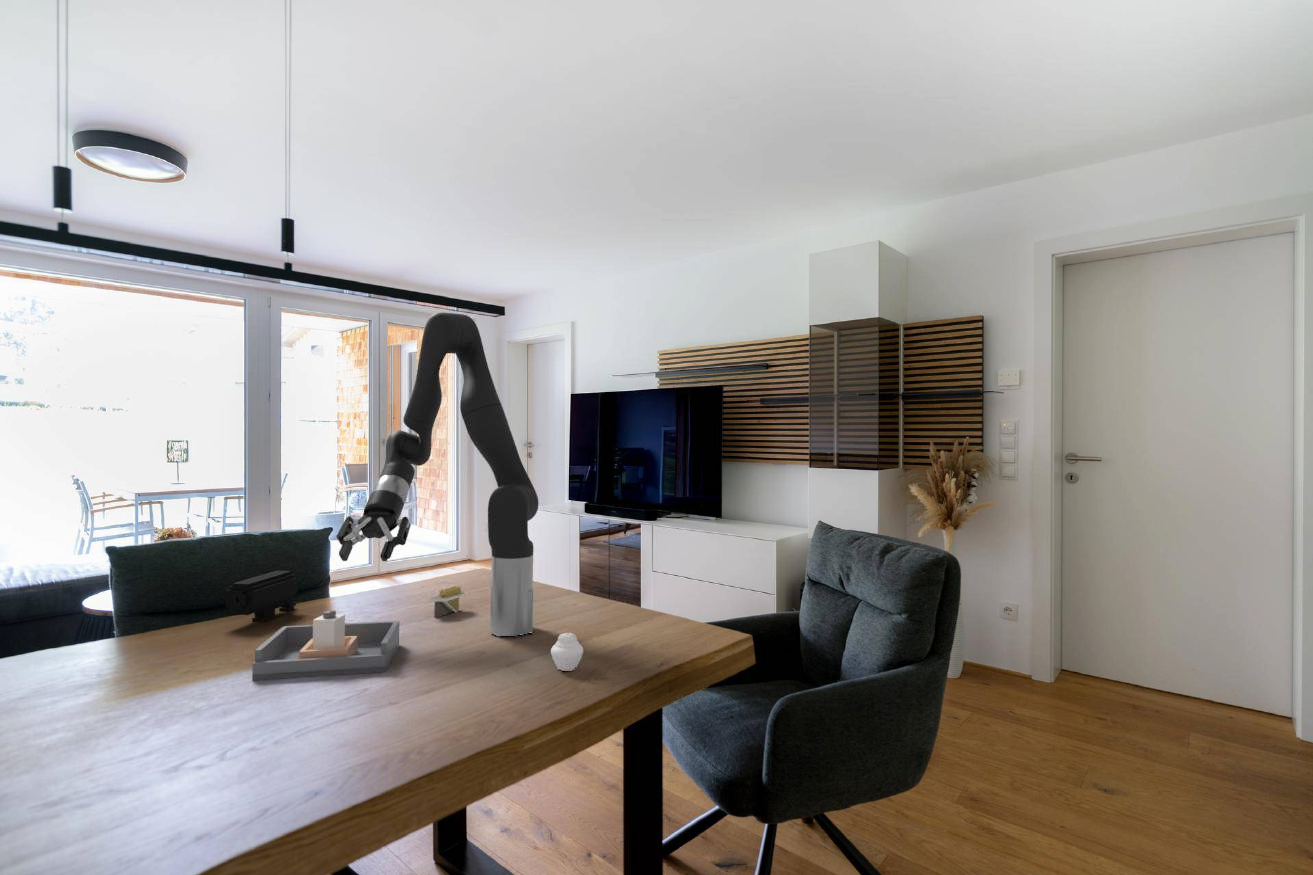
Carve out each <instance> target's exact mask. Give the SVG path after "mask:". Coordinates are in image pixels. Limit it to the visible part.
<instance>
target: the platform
mask: <svg viewBox="0 0 1313 875" xmlns="http://www.w3.org/2000/svg"><path fill="white" fill-rule="evenodd" d="M464 596H466V592H464V591H463V590H462V587H461V586H456V585H455V586H452V587H448V588H445V589H442V590H439V595H437V596H434V597H430V598H429V600H428V601H429V602H432V603H434V611H433V612H434V618H438V617H441V616H444V615H446V614H445V613H447V614H450V613H452V612H451V611H453V610H454V613H458V612H457V611H459V612H460V610H459V608H460V605H459V604H460V598H462V597H464ZM449 612H450V613H449ZM440 615H441V616H440Z"/></svg>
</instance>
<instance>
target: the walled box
mask: <svg viewBox="0 0 1313 875" xmlns="http://www.w3.org/2000/svg"><path fill="white" fill-rule="evenodd" d="M399 646H400V620H387V621H369V622H349V623H348V622H345V645H344V648H335V649H317V650H313V624H305V625H303V624H301V625H285V626H281V628H279V629H278V630H277V631H276V632H275V633H274V634H272V636H270V637H269V638H268V639H267V640H265V641H264V642H263V643H262V644H261V645H259V646H258V647H257V648H256V649H254V661H253V662H252V668H251V669H252V671H251V672H252V677H251V678H252V681H261V680H262V681H263V680H276V679H277V680H279V679H294V678H295V679H296V678H311V677H322V676H324V677H325V676H327V677H328V676H338V675H339V676H340V675H356V674H371V673H383V672H384V673H385V672H386V671H387V669H388V667H389V665H390V663H391V661H392V659H393V657H394V656H395V653H396V652H397V649H398V648H399Z"/></svg>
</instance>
